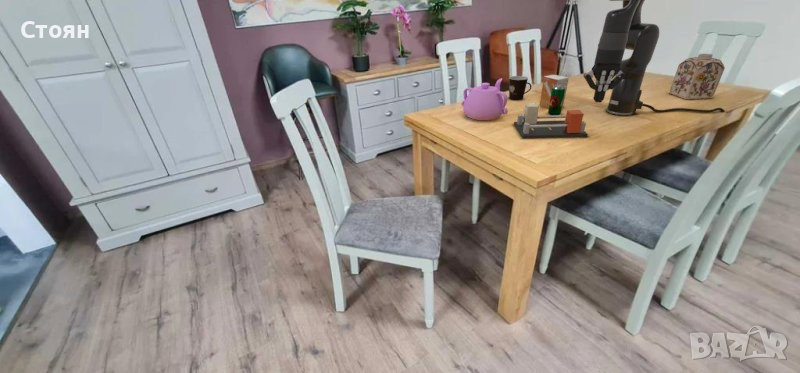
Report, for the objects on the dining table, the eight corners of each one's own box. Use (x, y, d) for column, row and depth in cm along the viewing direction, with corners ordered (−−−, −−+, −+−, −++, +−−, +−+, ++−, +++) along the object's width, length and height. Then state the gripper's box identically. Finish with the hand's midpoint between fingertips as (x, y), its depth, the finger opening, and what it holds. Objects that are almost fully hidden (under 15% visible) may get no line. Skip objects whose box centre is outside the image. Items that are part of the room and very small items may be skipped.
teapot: (521, 112, 145) (525, 79, 138) (496, 126, 132) (499, 91, 125) (477, 104, 158) (479, 74, 152) (450, 116, 145) (451, 84, 138)
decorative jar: (713, 98, 147) (731, 55, 138) (686, 100, 147) (702, 57, 138) (693, 92, 157) (708, 51, 148) (667, 93, 158) (681, 52, 149)
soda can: (561, 116, 138) (567, 86, 132) (548, 116, 139) (553, 86, 133) (559, 112, 142) (564, 83, 136) (546, 112, 143) (551, 83, 137)
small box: (539, 105, 152) (543, 76, 146) (549, 103, 154) (554, 74, 148) (552, 110, 146) (557, 79, 139) (563, 107, 148) (569, 77, 141)
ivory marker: (533, 120, 131) (535, 103, 127) (536, 124, 127) (539, 106, 123) (522, 120, 131) (525, 103, 128) (525, 124, 127) (527, 106, 124)
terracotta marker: (574, 128, 121) (578, 109, 117) (579, 132, 117) (583, 113, 114) (563, 128, 121) (567, 110, 118) (567, 133, 117) (571, 114, 114)
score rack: (571, 123, 130) (573, 111, 128) (587, 137, 117) (590, 124, 115) (513, 124, 132) (515, 113, 130) (522, 138, 119) (524, 126, 117)
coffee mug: (504, 97, 167) (506, 76, 162) (521, 95, 167) (523, 75, 163) (513, 103, 157) (515, 81, 152) (530, 102, 157) (533, 80, 152)
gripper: (594, 49, 103) (581, 105, 111) (640, 48, 101) (623, 104, 110) (584, 46, 109) (573, 99, 118) (627, 45, 108) (613, 98, 116)
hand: (597, 101), depth 114 cm, fingers closed
